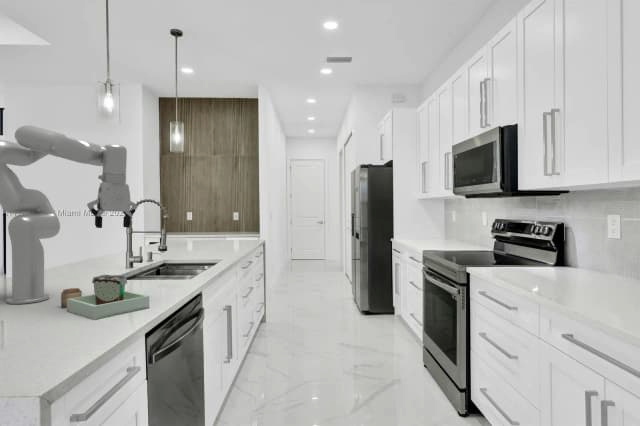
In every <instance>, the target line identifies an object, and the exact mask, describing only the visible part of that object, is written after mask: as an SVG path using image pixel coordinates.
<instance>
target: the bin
mask: <svg viewBox="0 0 640 426" xmlns="http://www.w3.org/2000/svg"><path fill="white" fill-rule="evenodd" d="M145 309H150V295H146V294H141V293H136V292H131V291H127V290H124V300H122V301H117V302H112V303H106V304H101V305H96V304H95V293H94V294H91V295H90V294H88V295H82V296H81V297H75V298H69V299H67V308H66V312H69V313H71V314H74V315H75V314H76V315H79V316H82V317H85V318H87V319H88V318H89V319H91V320H94V321H95V320H100V319H104V318H108V317H113V316H117V315H122V314H128V313H131V312H135V311H140V310H145Z"/></svg>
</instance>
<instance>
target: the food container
mask: <svg viewBox="0 0 640 426" xmlns="http://www.w3.org/2000/svg"><path fill="white" fill-rule="evenodd" d="M92 278H93V279H92V282H91V284H93V290H94V294H95V304H96V305H101V304H106V303H112V302H117V301H122V300H124V291H126V290H125V288H126V287H125V286H126V285H127V284H128V280H127V278H126V276H125V275H120V274H119V275H116V274H115V275H114V274H110V275H108V274H107V275H100V276H93V277H92Z"/></svg>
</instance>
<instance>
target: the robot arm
mask: <svg viewBox="0 0 640 426" xmlns="http://www.w3.org/2000/svg"><path fill="white" fill-rule="evenodd" d="M14 138H15V139H14V140H16V142H14V141H10V140H9V141H8V140H2V139H0V206H1V208H2V210H3V211H4V212H5V213H7V214H11V215H16V216H13V218H12V219H11V220H10V221H9V222H8V226H7V227H8V228H7V229H8V235H9V239H10V243H11V244H10V245H11V295H12V296H11V297H8V298H7V299H6V303H7V304H9V305H10V304H12V305H21V304H22V305H23V304H24V305H25V304H32V303H38V302H43V301H46V300H49V299H50V294H48V293H45V250H44V249H45V248H44V247H43V243H42V242H41V240H43V239H45V240H46V239H51V238H54V237H56V236H57V235H58V234H59V233H60V229H61V223H60V219H59V217H58V215H57V213H56V211H55V210H54V207H53V205H52V204H51V202H50V200H49V198H48V197H47V195H46V194H45V193H43V192H42V191H41V190H38V189H32V188H26V187H25V186H23V185H22V183H21V181H20V179H19V176H17V174H16V173H15V171H13V169H11V168H10V167H9V166H8V165H10V166H17V167H18V166H19V167H27V166H30V165H32V164H34V163H36V162H38V161H40V160H41V159H43V158H45V157H46V156H48V155H49V156H53V157H56V158H61V159H65V160H67V161H72V162H76V163H79V164H85V165H86V164H87V165H89V166H90V165H92V166H96V167H102V174H101V175H98V177H97V178H98V179H99V180H101V182H100V184H99V187H98V192H97V198H96V199H95V200H91V201H90V202H88V203H87V204H86V206H87V207H88V209H89V212H91V214H92V215H93V217H94V226H95V228H97V229H102V228H103V216H102V215H103V214H104V213H105V212H122V213H123V224H122V226H123V228H130V226H131V217H132V216H133V215H134V214H135V213H136V211H137V208H138V207H139V206H138V204H137V203H135V202H133V201H132V200H131V192H130V187H129V184H128V183H127V160H128V159H127V158H128V157H127V154H128V153H127V152H128V150H127V148H126V147H125V146H123V145H120V144H105V145H100V144H96V143H93V142H89V141H85V140H79V139H76V138H72V137H68V136H66V135H65V134H64V133H61V132H57V131H53V130H50V129H46V128H43V127H39V126H33V125H22V126H19V127H18V128H17V129H16V130H15V132H14ZM95 205H96V208H95Z"/></svg>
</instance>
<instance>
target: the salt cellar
mask: <svg viewBox="0 0 640 426" xmlns="http://www.w3.org/2000/svg"><path fill="white" fill-rule="evenodd" d="M82 292H83V291H82V290H81V289H80V288H79V287H78V288H77V287H75V288H74V287H72V288H65V289H63V291H61V293H60V308H61V309H67V299H69V298H75V297H81V296H83V294H82Z"/></svg>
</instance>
